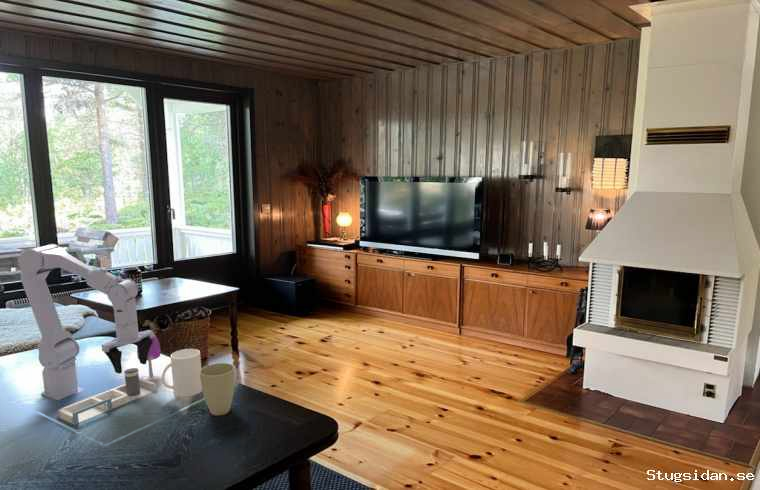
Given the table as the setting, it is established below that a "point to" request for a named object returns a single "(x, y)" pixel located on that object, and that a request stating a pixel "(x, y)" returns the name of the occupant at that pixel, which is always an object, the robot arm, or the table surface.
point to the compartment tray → (102, 402)
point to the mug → (185, 372)
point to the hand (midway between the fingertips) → (131, 367)
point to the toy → (152, 352)
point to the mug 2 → (218, 386)
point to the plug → (132, 381)
